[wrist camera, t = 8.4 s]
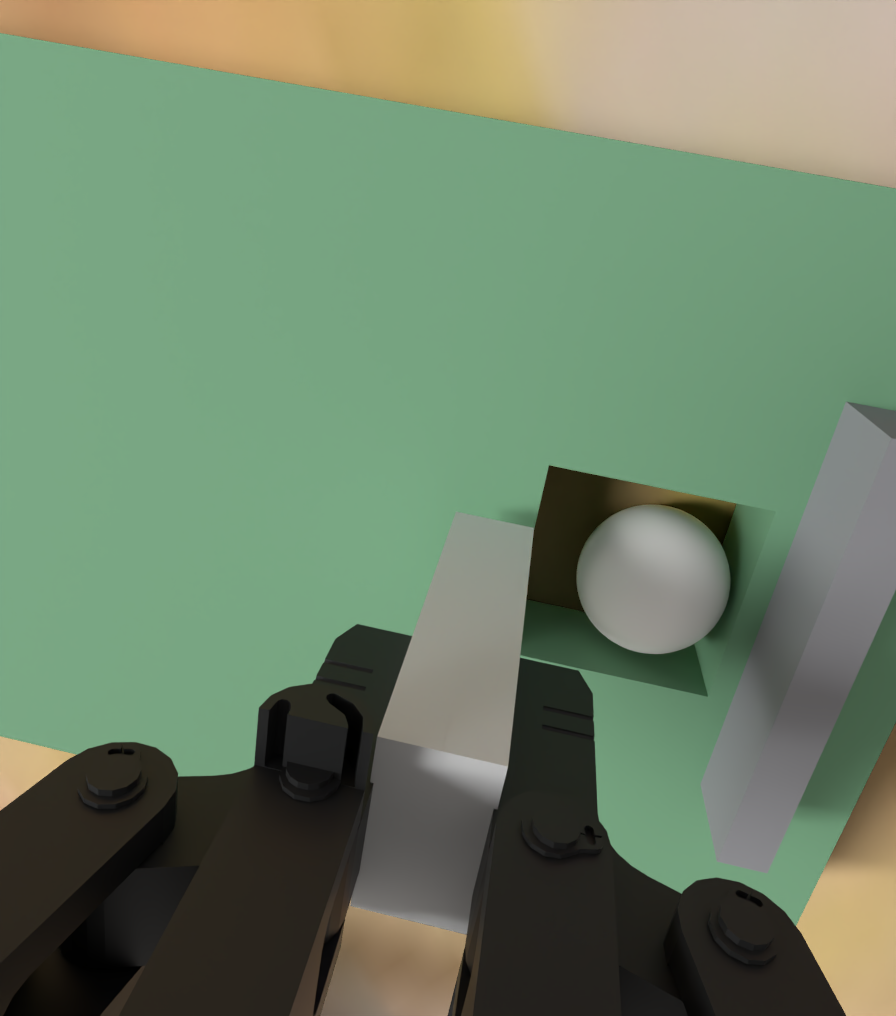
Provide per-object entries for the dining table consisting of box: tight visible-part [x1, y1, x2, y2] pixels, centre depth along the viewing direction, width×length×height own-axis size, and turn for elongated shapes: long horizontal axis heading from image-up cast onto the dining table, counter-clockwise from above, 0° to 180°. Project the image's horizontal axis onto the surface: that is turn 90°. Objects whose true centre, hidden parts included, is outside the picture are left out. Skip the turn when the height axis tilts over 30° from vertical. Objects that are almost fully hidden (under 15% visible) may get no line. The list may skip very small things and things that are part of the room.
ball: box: [576, 504, 731, 654], centre depth 17 cm, size 3×3×3 cm
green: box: [0, 33, 896, 926], centre depth 17 cm, size 16×26×5 cm, turn 81°
